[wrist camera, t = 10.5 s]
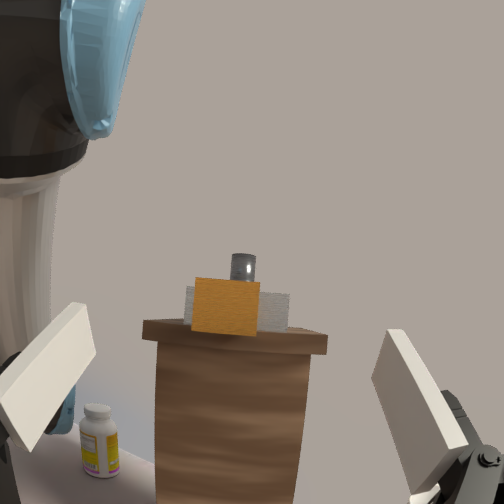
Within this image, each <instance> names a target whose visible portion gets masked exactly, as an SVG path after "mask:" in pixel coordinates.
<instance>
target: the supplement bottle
mask: <svg viewBox="0 0 504 504" xmlns="http://www.w3.org/2000/svg"><path fill="white" fill-rule="evenodd" d="M84 413H85V415H86V417H85V418H83V419H82V420H81V421H80V424H79V428H80V440H81V451H82V460H83V467H84V469H85V471H86V472H87V473H88V474H90V475H92V476H95V477H99V478H110V477H113V476H115V475H117V474H118V472H119V456H118V439H117V426H116V424H115V423H114V422H113V421H112V420H110V416H111V409H110V407H108V406H107V405H103V404H98V403H89V404H86V405H84Z"/></svg>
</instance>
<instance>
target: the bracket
mask: <svg viewBox="0 0 504 504" xmlns="http://www.w3.org/2000/svg"><path fill="white" fill-rule="evenodd" d="M255 263H256V256H254V255H251V254H242V253H239V254H238V253H237V254H232V262H231V274H230V280H223V279H222V280H221V279H210V278H198V277H196V280H195V287H190V286H187V290H186V302H185V314H184V324H185V325H192V327H191V331H199V332H209V333H219V334H231V335H243V336H256V332H257V331H266V332H282V333H287V324H288V310H289V294H280V293H265V292H259V291H260V282H254V277H255Z"/></svg>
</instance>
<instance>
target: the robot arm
mask: <svg viewBox="0 0 504 504" xmlns="http://www.w3.org/2000/svg"><path fill="white" fill-rule="evenodd" d="M145 2H146V0H0V504H21V502H20V498H19V494H18V490H17V486H16V481H15V477H14V472H13V467H12V462H11V456H10V450H9V446H8V443H7V441H6V440H7V438H8V437H9V436H10V437H11V439H12V440H13V442H14V443H15V445H16V446H18V447H20V448H22V449H24V450H26V451H28V452H30V453H31V451H32V449H33V448H34V446H35V445H36V443H37V441H38V440H39V438H40V437H41V435H42V433H45V434H48V435H52V434H67V433H69V432H70V430H71V429H72V426H73V420H74V405H75V383H76V382H77V380H78V379H79V377H80V376H81V374H82V373H83V372H84V370H85V369H86V367H87V366H88V364H89V363H90V362H91V360H92V359H93V357H94V356H95V354H96V351H95V346H94V342H93V337H92V333H91V328H90V323H89V318H88V313H87V308H86V304H82V303H76V302H72V303H71V304H70V305H69V306H68V307H66V308H65V309H64V311H62V312H61V313H60V314H59V315H58V316H57V317H56V318H55V319H54V320H53V321H52V322H51V319H50V279H51V277H50V276H51V255H52V240H53V229H54V219H55V211H56V203H57V195H58V188H59V182H60V176H62V175H63V174H65V173H66V172H68V171H70V170H71V169H72V168H74V167H76V166H77V165H78V164H79V163H80V162H81V161H82V160H83V158H84V156H85V153H86V149H87V145H88V141H89V139H90V140H96V139H98V138H105V137H108V136H109V135H110V134H111V132H112V130H113V126H114V122H115V119H116V114H117V110H118V106H119V100H120V96H121V92H122V87H123V84H124V80H125V77H126V72H127V68H128V64H129V60H130V57H131V53H132V49H133V45H134V41H135V38H136V34H137V30H138V27H139V23H140V20H141V16H142V12H143V9H144V5H145ZM371 379H372V381H373V384H374V386H375V390H376V392H377V395H378V398H379V400H380V403H381V405H382V408H383V411H384V414H385V417H386V420H387V422H388V425H389V428H390V431H391V434H392V437H393V439H394V443H395V445H396V449H397V451H398V455H399V458H400V461H401V464H402V467H403V470H404V473H405V476H406V479H407V482H408V486H409V489H410V492H411V495H416V494H420V493H424V492H428V491H430V490H431V489H432V488H433V487H434V486H435V485H436V484H437V483H438V484H439V486H440V490H439V491H438V492H437V493H436V494H435V495H434V496H433V498H432V499H431V500H430V501H429V502H428V503H427V504H431V503H432V502H433V503H432V504H504V455H501V453H500V452H499V451H498V450H497V449H496V448H495V447H493V446H491V445H483V444H482V442H481V440H480V438H479V436H478V435H477V432H476V431H475V429H474V427H473V425H472V423H471V422H470V420H469V418H468V417H467V415H466V413H465V411H464V410H462V406H461V404H460V403H459V401H458V399H457V398H456V397H455V396H454V395H453V394H451V393H450V392H449V391H448V390H444V391H440V390H439V388H438V387H437V385H436V383H435V382H434V380H433V378H432V376H431V375H430V373H429V372H428V370H427V368H426V366H425V365H424V363H423V361H422V360H421V358H420V356H419V355H418V353H417V352H416V350H415V348H414V347H413V345H412V344H411V342H410V340H409V339H408V337H407V336H406V334H405V332H404V331H403V329H387V331H386V335H385V338H384V341H383V344H382V347H381V351H380V354H379V357H378V360H377V363H376V366H375V368H374V372H373V374H372V377H371Z"/></svg>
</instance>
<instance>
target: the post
mask: <svg viewBox="0 0 504 504" xmlns="http://www.w3.org/2000/svg"><path fill="white" fill-rule="evenodd" d="M191 327H192V325H185V324H184V319H162V320H144V321H143V332H142V339H145V340H151V341H158V346H157V364H156V387H155V485H156V504H292V503H293V498H294V492H295V484H296V478H297V472H298V465H299V458H300V451H301V443H302V435H303V427H304V419H305V409H306V401H307V391H308V381H309V370H310V359H311V354H319V355H321V354H322V355H326V353H327V339H328V335H326V334H321V333H318V332H314V331H310V330H307V329H303V328H293V327H292V328H291V327H287V333H282V332H266V331H257V332H256V336H243V335H231V334H219V333H209V332H199V331H191Z"/></svg>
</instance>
